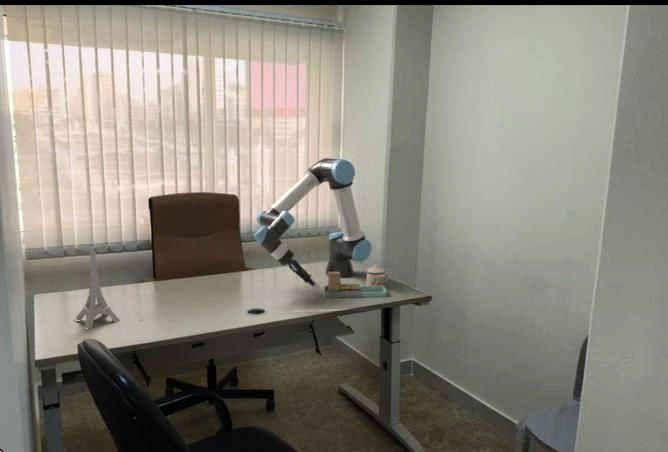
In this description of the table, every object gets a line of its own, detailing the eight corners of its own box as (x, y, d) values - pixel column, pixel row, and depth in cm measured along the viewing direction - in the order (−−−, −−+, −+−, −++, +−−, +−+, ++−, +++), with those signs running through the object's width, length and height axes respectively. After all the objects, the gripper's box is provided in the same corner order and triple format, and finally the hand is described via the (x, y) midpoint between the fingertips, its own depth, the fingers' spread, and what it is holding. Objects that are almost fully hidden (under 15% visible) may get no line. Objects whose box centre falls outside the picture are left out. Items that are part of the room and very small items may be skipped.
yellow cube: (349, 292, 235) (349, 284, 235) (357, 292, 236) (358, 284, 235) (350, 294, 231) (350, 286, 231) (359, 294, 232) (359, 286, 231)
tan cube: (339, 292, 235) (340, 284, 234) (348, 292, 235) (348, 284, 234) (340, 295, 231) (341, 286, 230) (349, 294, 231) (349, 286, 231)
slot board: (324, 292, 238) (324, 285, 237) (357, 291, 240) (357, 284, 239) (326, 300, 226) (326, 292, 226) (361, 299, 228) (361, 292, 227)
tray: (357, 292, 239) (357, 286, 238) (383, 291, 240) (383, 285, 240) (361, 298, 229) (361, 292, 228) (387, 298, 230) (388, 292, 230)
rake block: (328, 292, 235) (328, 271, 233) (338, 292, 235) (339, 271, 233) (329, 295, 230) (329, 274, 228) (340, 295, 230) (340, 274, 229)
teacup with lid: (372, 291, 240) (372, 268, 238) (362, 286, 248) (363, 263, 246) (392, 288, 246) (393, 265, 244) (382, 283, 254) (383, 261, 252)
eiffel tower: (73, 320, 197) (67, 246, 192) (108, 312, 206) (103, 242, 201) (85, 330, 188) (79, 252, 182) (121, 321, 197) (116, 247, 192)
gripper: (276, 256, 233) (312, 290, 238) (276, 263, 220) (313, 299, 225) (288, 245, 233) (323, 279, 237) (288, 251, 220) (325, 287, 225)
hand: (318, 288), depth 231 cm, fingers closed
